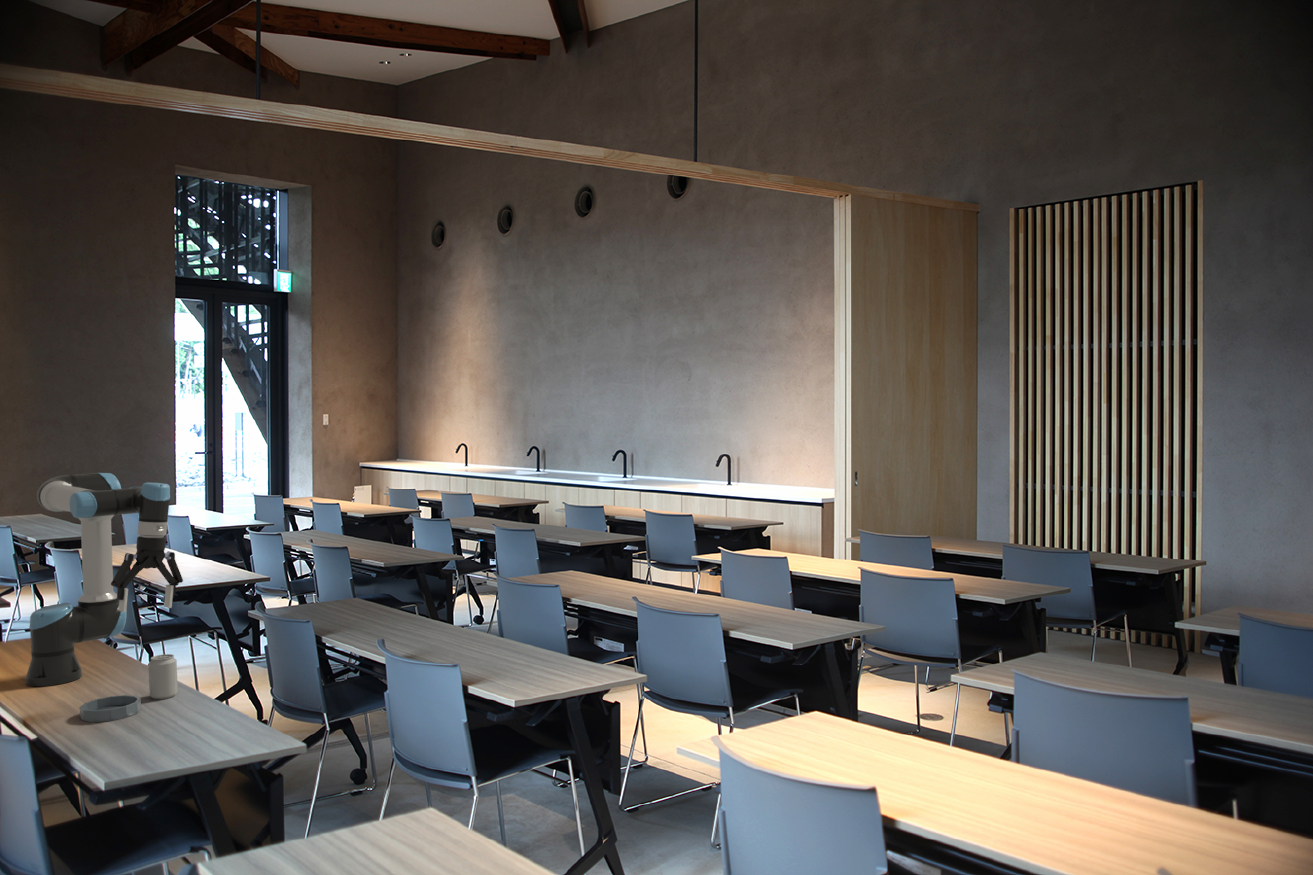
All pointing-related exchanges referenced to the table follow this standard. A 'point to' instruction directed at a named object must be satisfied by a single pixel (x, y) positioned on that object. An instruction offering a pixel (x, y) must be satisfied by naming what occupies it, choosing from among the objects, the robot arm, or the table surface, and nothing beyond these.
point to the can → (163, 676)
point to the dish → (110, 708)
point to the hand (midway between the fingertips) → (145, 609)
